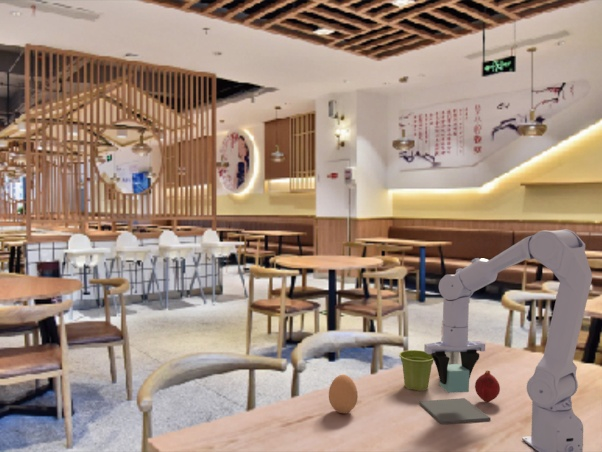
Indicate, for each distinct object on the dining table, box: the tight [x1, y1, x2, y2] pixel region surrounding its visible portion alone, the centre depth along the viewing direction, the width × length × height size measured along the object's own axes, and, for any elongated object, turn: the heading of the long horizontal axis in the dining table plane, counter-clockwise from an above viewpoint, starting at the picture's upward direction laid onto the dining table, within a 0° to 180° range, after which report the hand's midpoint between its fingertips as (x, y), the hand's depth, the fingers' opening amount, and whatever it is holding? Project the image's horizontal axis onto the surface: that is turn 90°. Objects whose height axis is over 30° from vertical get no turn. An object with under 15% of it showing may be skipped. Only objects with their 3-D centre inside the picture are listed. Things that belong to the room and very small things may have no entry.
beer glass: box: [440, 320, 462, 365], centre depth 151 cm, size 7×7×15 cm
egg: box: [328, 374, 358, 415], centre depth 123 cm, size 7×7×9 cm
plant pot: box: [398, 349, 434, 392], centre depth 140 cm, size 9×9×9 cm
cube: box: [438, 364, 470, 394], centre depth 124 cm, size 5×5×5 cm
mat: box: [419, 397, 492, 425], centre depth 124 cm, size 12×12×1 cm
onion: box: [474, 369, 501, 403], centre depth 130 cm, size 6×6×8 cm
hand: (454, 382), depth 123 cm, fingers closed on cube, 5 cm apart
